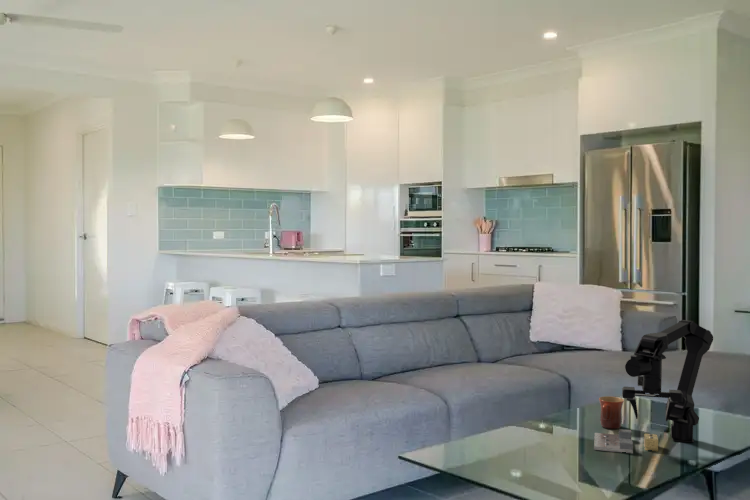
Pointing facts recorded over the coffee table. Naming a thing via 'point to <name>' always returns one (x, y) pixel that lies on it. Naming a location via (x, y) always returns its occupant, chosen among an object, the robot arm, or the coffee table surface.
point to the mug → (611, 412)
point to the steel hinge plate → (614, 442)
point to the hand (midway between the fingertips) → (651, 419)
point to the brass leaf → (651, 442)
